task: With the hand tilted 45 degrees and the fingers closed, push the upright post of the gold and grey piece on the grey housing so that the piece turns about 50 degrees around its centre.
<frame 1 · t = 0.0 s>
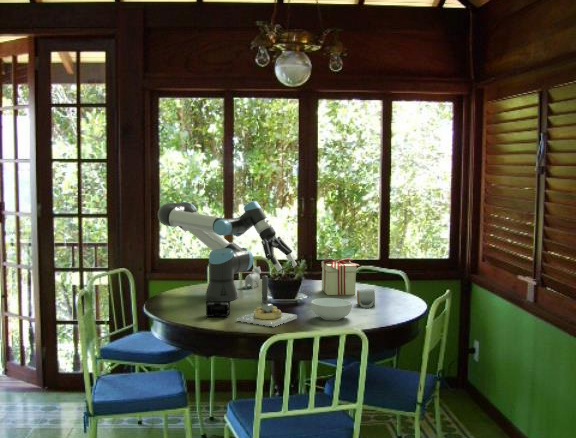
hand: (287, 268, 318), 15 cm above the table, tool tilted 35°, fingers open, 13 cm apart
gift box: (340, 293, 338), on the table
housing: (267, 319, 279), on the table
ceramic mug: (366, 306, 308), on the table
gold and grey piece: (266, 296, 280), point 9 cm above the table, hinge at 0.0°
end cap: (217, 317, 284), on the table
cereal bowl: (331, 318, 282), on the table
dog figurine: (253, 287, 353), on the table
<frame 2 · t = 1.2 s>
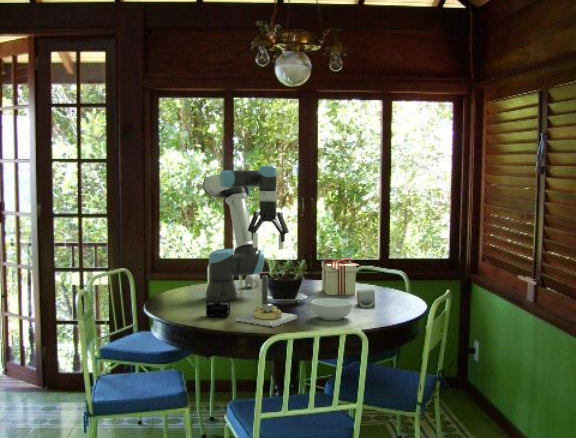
hand: (268, 248, 301), 27 cm above the table, tool pointing down, fingers open, 13 cm apart
nothing on the table moved.
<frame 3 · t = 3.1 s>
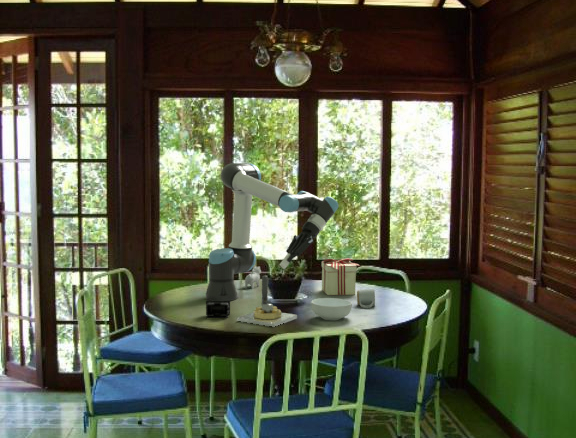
hand: (282, 266, 291), 20 cm above the table, tool tilted 45°, fingers closed
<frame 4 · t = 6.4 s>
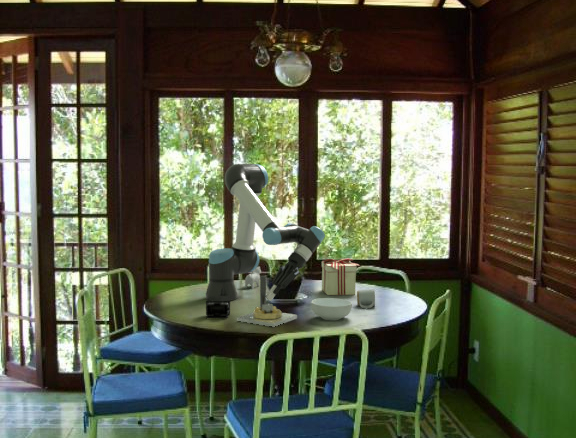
hand: (268, 298, 288), 7 cm above the table, tool tilted 45°, fingers closed
gold and grey piece: (266, 296, 280), point 9 cm above the table, hinge at 4.8°, touching gripper
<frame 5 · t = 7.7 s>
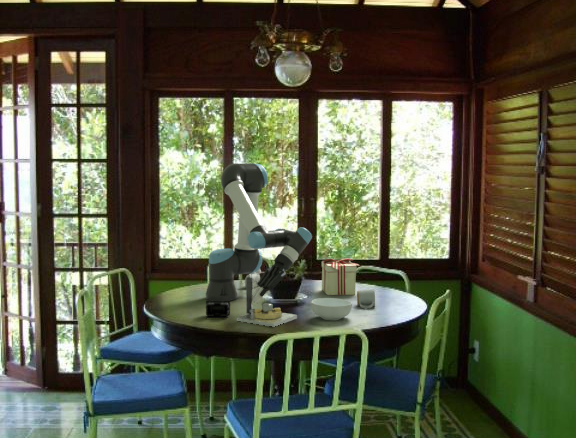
hand: (253, 300, 284), 7 cm above the table, tool tilted 45°, fingers closed on gold and grey piece
gold and grey piece: (262, 297, 279), point 9 cm above the table, hinge at 50.5°, touching gripper
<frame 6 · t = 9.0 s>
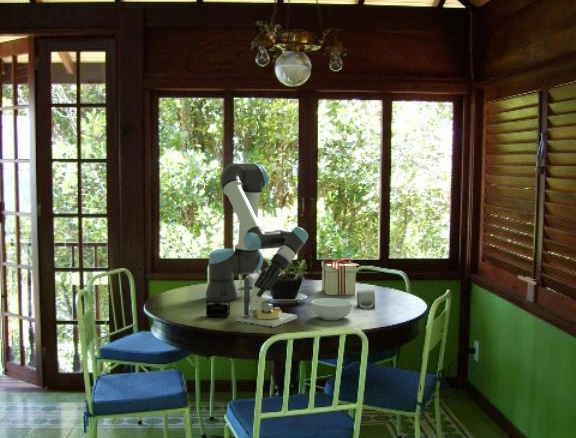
hand: (251, 301, 282), 7 cm above the table, tool tilted 45°, fingers closed
gold and grey piece: (262, 297, 278), point 9 cm above the table, hinge at 64.8°, touching gripper
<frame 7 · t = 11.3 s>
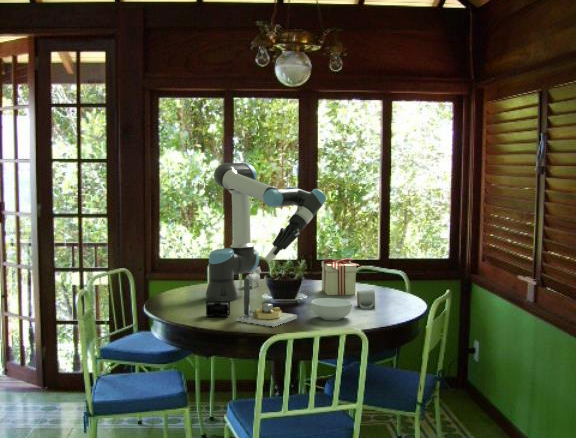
hand: (268, 259, 286), 24 cm above the table, tool tilted 45°, fingers closed
gold and grey piece: (262, 297, 278), point 9 cm above the table, hinge at 64.9°
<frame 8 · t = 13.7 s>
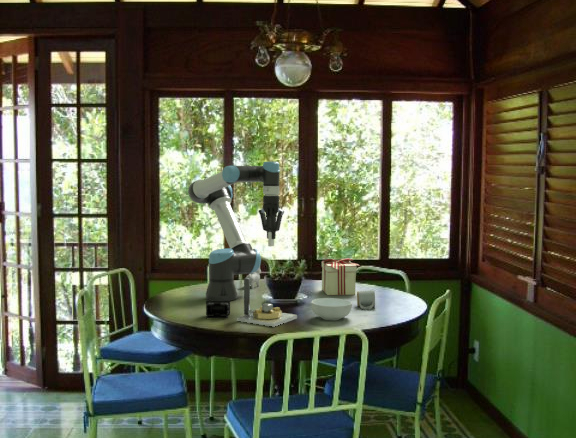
hand: (271, 246, 312), 26 cm above the table, tool pointing down, fingers closed
at the end: gold and grey piece at +65° (first picture: +0°); gold and grey piece touching nothing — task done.
